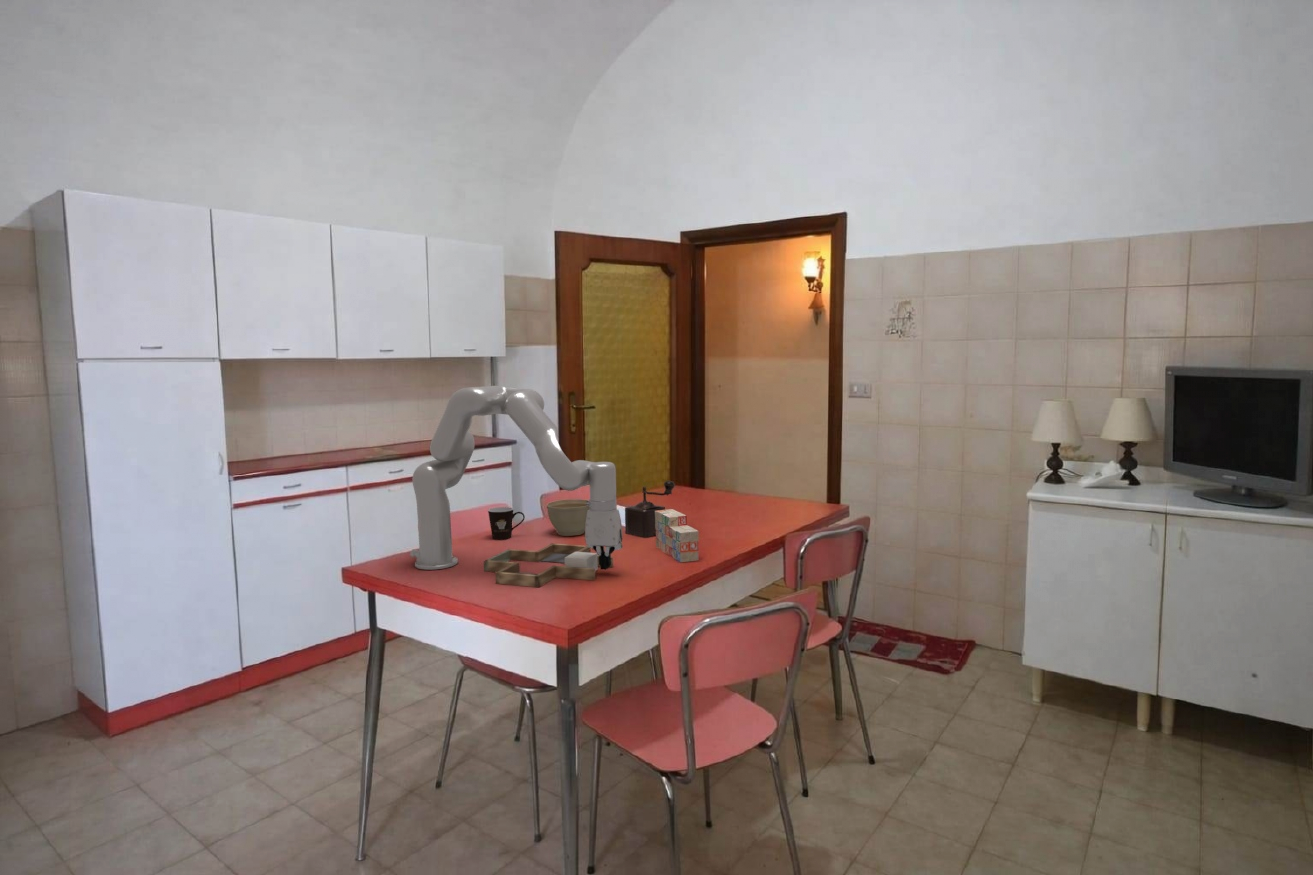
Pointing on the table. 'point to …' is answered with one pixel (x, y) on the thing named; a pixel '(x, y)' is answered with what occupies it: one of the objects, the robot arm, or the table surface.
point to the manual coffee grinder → (644, 514)
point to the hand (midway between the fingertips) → (605, 568)
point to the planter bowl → (568, 516)
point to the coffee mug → (502, 522)
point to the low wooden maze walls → (550, 553)
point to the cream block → (582, 560)
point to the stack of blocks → (676, 535)
